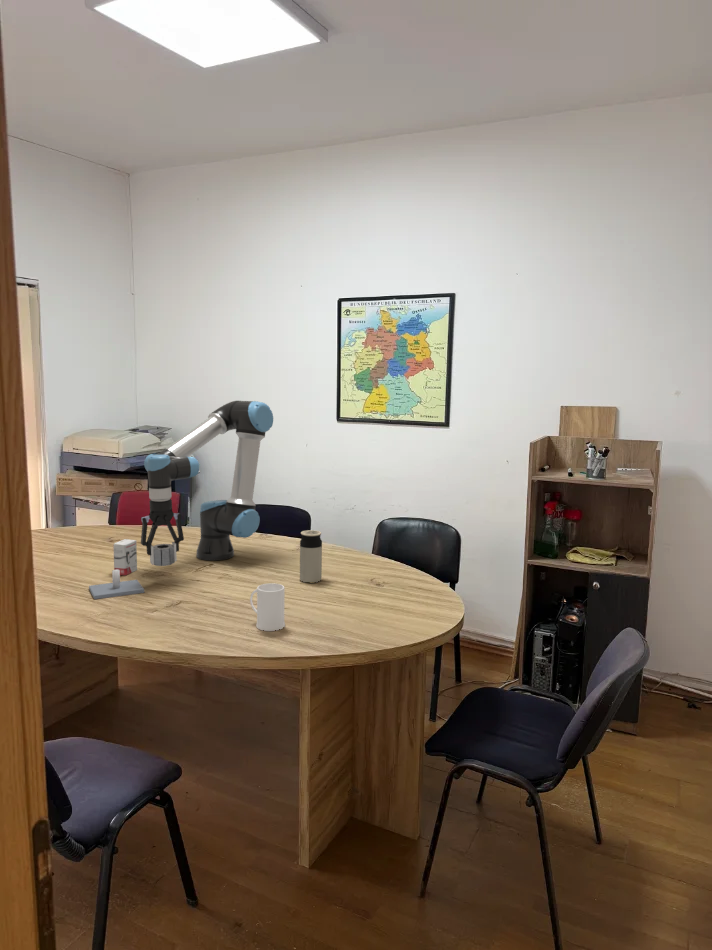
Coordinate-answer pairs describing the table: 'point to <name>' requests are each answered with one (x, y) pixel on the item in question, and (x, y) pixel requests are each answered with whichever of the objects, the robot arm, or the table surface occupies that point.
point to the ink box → (125, 556)
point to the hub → (163, 554)
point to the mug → (269, 606)
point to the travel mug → (310, 556)
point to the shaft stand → (116, 587)
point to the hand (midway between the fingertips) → (163, 561)
